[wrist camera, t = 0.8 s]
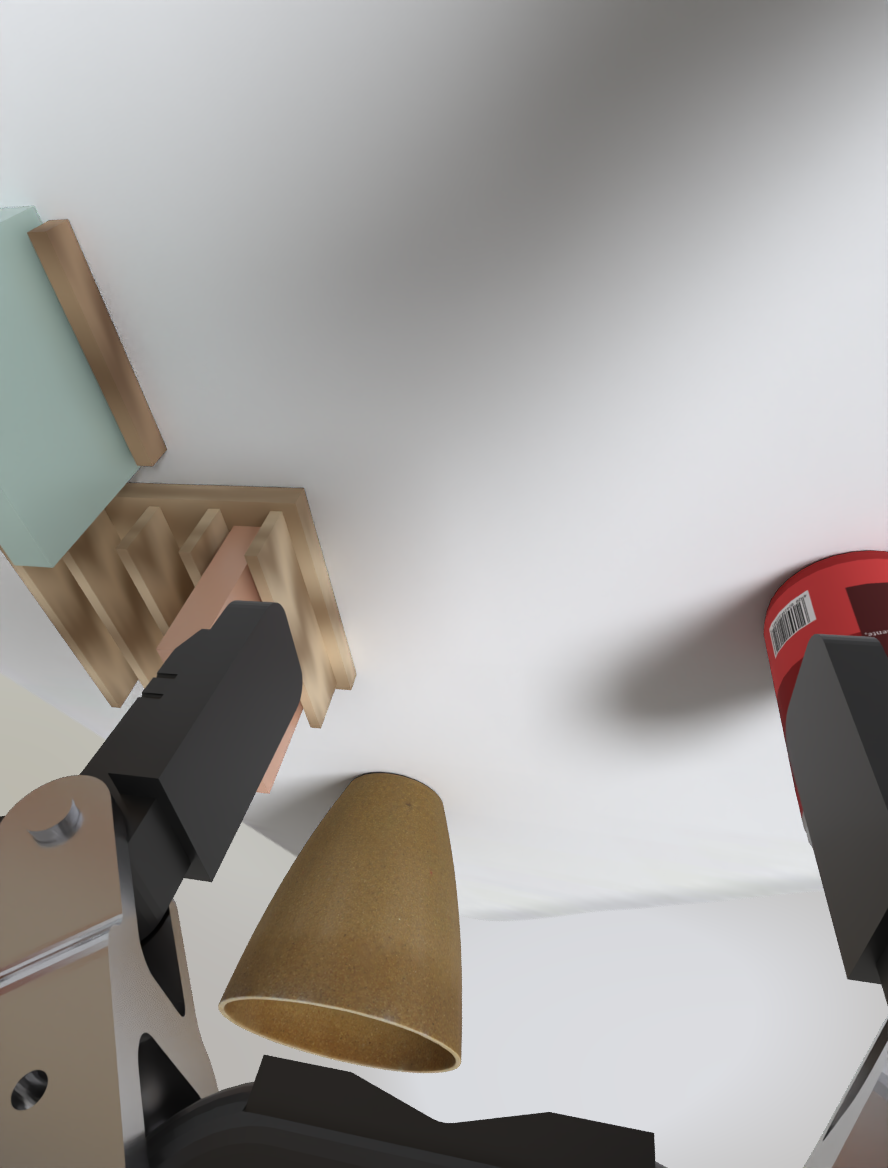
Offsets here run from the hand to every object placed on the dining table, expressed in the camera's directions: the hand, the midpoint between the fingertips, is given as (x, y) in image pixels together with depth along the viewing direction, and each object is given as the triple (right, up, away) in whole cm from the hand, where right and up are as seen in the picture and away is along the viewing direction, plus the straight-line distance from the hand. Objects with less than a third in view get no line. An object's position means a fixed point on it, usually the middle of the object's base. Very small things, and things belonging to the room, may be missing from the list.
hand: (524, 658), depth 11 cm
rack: (-15, +1, +28) cm, 32 cm away
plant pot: (-5, -15, +42) cm, 45 cm away
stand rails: (-17, +11, +19) cm, 28 cm away
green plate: (-17, +11, +19) cm, 28 cm away
